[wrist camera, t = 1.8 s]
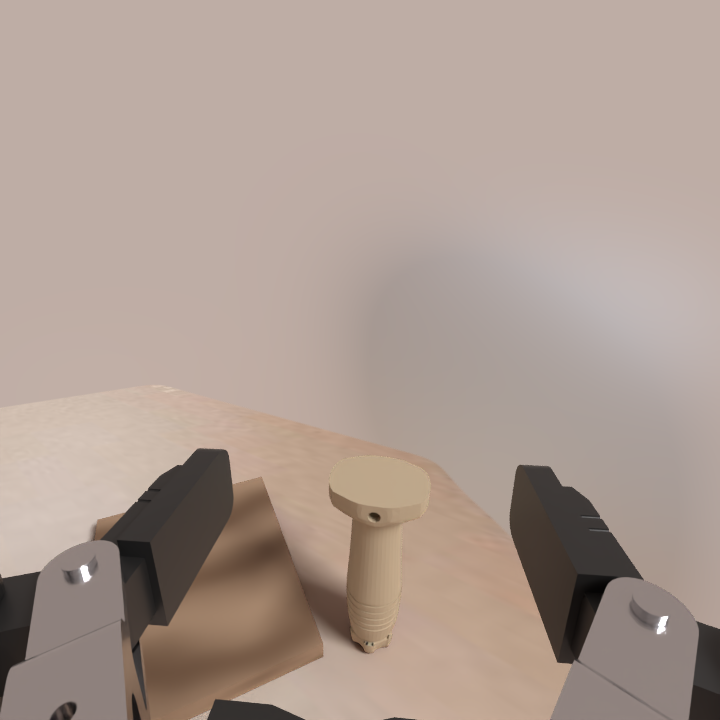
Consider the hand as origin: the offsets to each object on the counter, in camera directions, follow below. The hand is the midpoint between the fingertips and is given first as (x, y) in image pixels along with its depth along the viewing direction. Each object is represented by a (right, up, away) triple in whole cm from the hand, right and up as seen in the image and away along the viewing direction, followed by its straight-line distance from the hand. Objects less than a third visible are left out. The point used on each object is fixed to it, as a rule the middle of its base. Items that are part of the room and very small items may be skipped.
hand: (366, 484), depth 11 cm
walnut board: (-14, -16, +24) cm, 32 cm away
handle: (+1, -18, +20) cm, 27 cm away
